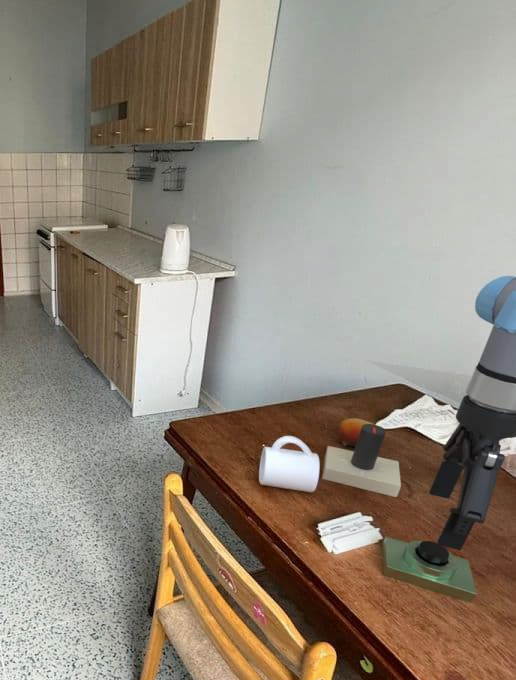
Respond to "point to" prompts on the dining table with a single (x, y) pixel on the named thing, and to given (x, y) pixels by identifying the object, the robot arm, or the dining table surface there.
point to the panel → (362, 472)
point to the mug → (289, 466)
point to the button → (432, 553)
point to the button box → (427, 570)
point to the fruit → (351, 431)
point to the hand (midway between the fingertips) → (443, 519)
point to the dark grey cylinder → (368, 446)
